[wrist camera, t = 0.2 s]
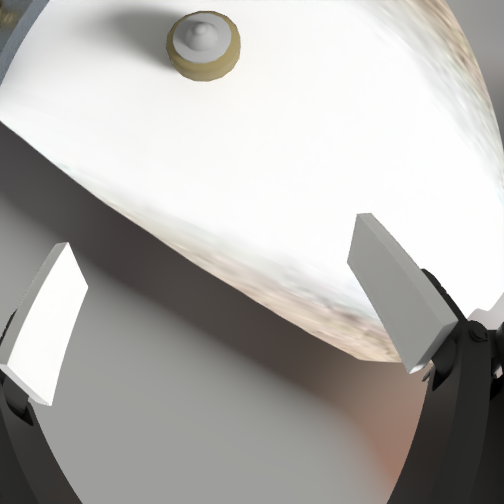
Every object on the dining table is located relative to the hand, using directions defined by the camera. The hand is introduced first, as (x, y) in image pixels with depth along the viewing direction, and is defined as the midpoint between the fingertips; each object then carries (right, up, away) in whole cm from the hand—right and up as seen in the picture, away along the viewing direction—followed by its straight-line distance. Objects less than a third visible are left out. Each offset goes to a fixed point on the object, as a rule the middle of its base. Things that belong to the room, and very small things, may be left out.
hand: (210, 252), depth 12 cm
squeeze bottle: (-4, +25, +16) cm, 30 cm away
